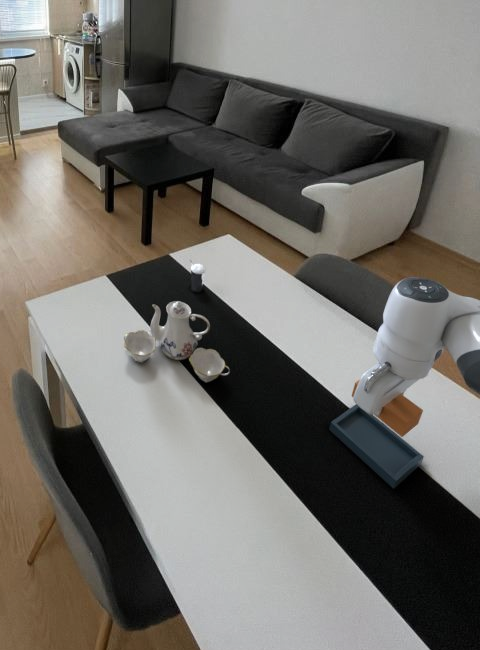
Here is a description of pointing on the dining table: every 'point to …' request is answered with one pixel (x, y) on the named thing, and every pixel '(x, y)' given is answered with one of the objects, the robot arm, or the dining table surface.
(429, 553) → the dining table surface
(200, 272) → the milkshake
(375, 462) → the dark blue rectangular tray
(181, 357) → the chinaware
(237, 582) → the dining table surface
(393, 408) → the orange rectangular block
